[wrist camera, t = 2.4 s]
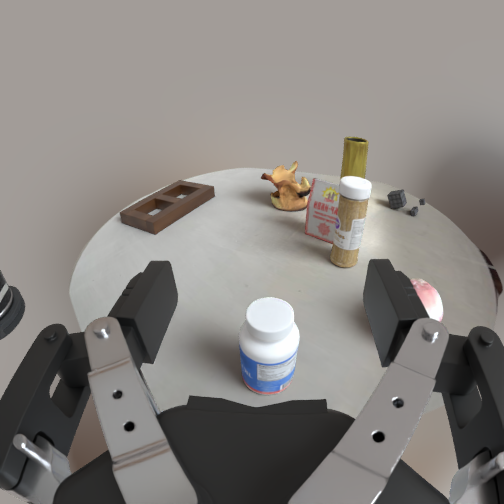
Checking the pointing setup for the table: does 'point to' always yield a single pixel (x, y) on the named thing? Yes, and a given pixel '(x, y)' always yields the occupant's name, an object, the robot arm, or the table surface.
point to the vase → (354, 157)
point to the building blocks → (401, 201)
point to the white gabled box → (322, 210)
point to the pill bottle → (268, 346)
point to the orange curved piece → (288, 189)
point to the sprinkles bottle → (350, 220)
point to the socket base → (166, 206)
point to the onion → (429, 298)
